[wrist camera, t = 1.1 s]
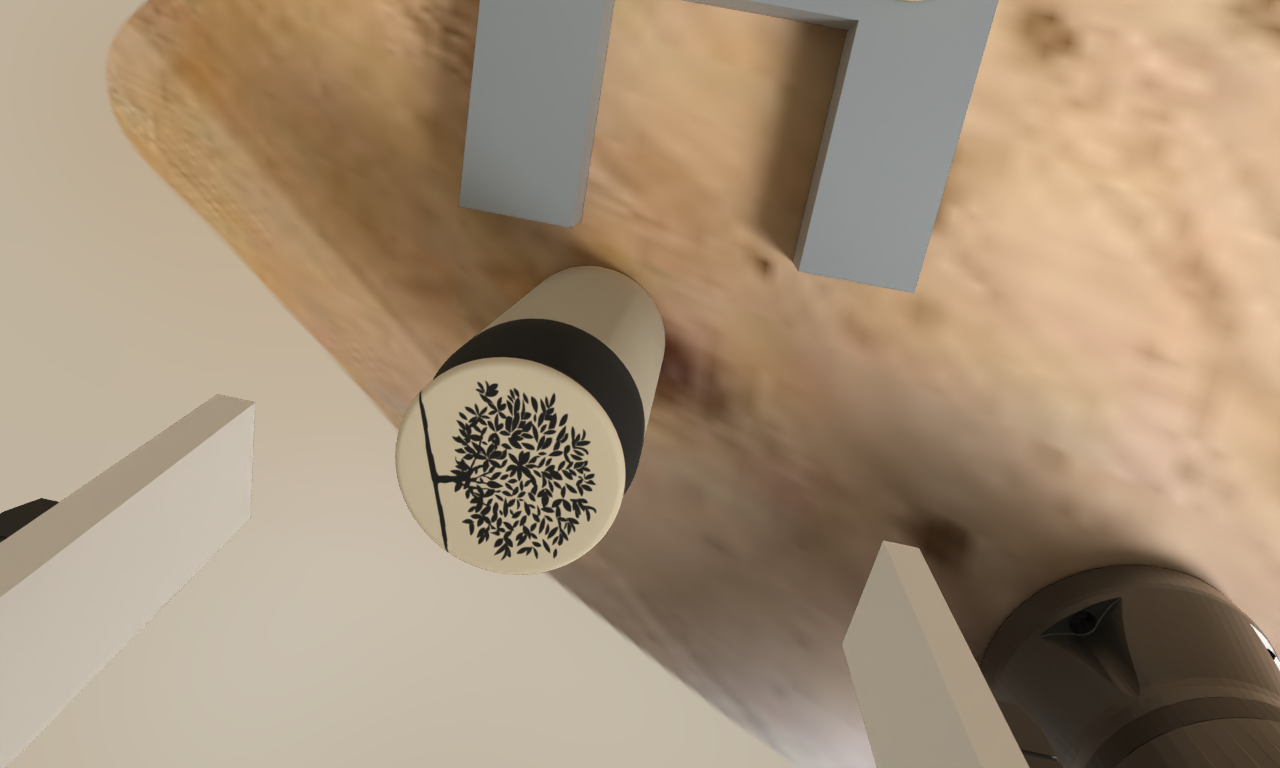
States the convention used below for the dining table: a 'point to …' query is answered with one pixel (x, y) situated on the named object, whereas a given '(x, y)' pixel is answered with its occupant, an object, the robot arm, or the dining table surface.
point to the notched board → (851, 142)
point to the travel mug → (536, 425)
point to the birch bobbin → (911, 0)
